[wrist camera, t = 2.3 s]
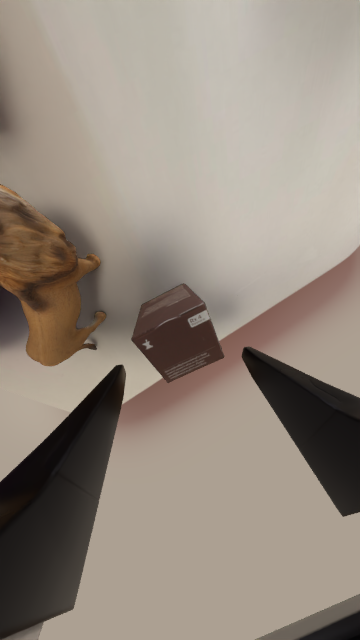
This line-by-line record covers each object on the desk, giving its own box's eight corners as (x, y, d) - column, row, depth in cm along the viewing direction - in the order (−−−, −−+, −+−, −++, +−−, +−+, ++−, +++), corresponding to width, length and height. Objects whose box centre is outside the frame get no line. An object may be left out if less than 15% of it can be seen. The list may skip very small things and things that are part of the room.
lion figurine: (20, 202, 10) (-454, 24, 2) (92, 210, 11) (-70, 100, 3) (77, 347, 17) (5, 430, 9) (119, 345, 18) (89, 419, 10)
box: (163, 338, 18) (166, 384, 12) (140, 303, 15) (127, 339, 9) (201, 320, 18) (226, 358, 12) (185, 281, 15) (206, 302, 9)
